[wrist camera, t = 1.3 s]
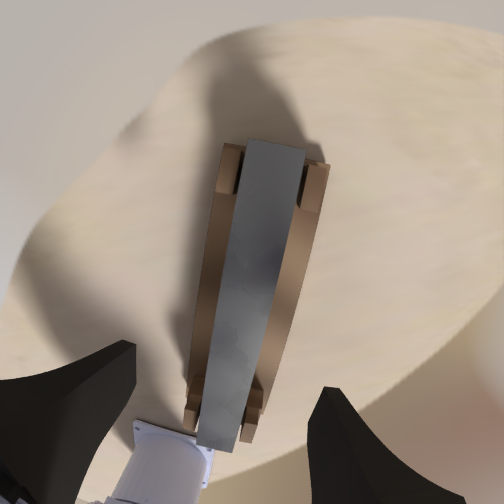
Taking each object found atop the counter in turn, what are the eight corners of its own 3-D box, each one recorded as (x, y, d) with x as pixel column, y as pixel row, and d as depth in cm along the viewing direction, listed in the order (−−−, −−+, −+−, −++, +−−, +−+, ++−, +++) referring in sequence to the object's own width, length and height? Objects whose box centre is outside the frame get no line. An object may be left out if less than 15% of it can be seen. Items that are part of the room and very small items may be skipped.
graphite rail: (236, 428, 18) (231, 452, 16) (203, 420, 19) (195, 444, 16) (301, 154, 14) (306, 149, 12) (253, 144, 14) (248, 138, 12)
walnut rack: (263, 406, 21) (260, 449, 17) (188, 389, 22) (172, 429, 17) (327, 165, 17) (344, 161, 12) (227, 144, 17) (210, 134, 12)
